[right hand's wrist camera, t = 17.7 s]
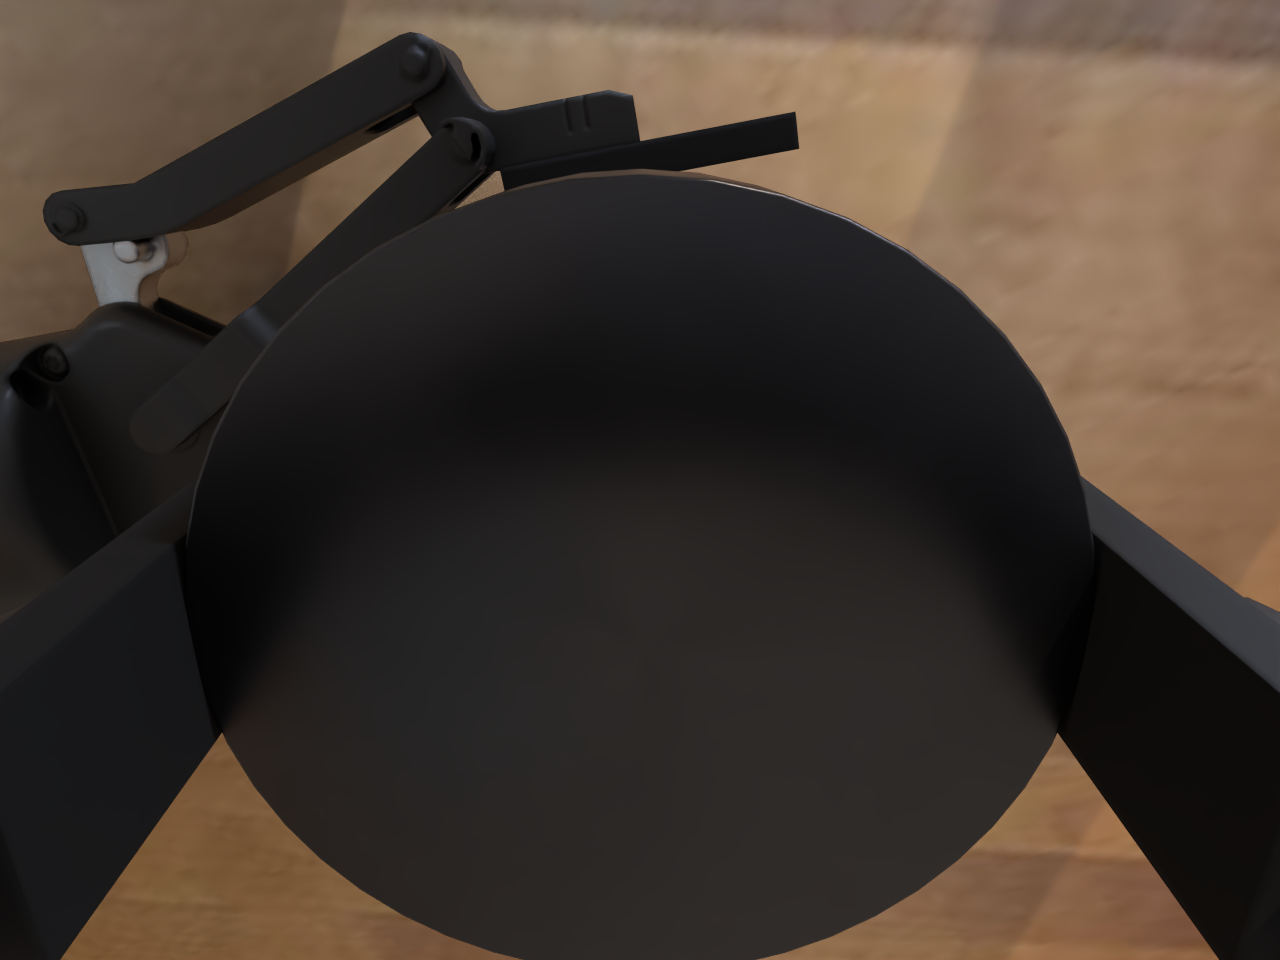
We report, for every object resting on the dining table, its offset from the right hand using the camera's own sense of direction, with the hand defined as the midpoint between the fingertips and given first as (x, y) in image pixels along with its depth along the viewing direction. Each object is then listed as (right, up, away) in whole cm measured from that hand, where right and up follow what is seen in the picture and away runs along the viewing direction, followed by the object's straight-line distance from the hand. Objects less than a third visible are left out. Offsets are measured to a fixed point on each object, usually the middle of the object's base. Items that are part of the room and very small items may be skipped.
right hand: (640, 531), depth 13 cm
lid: (0, -1, -3) cm, 3 cm away
